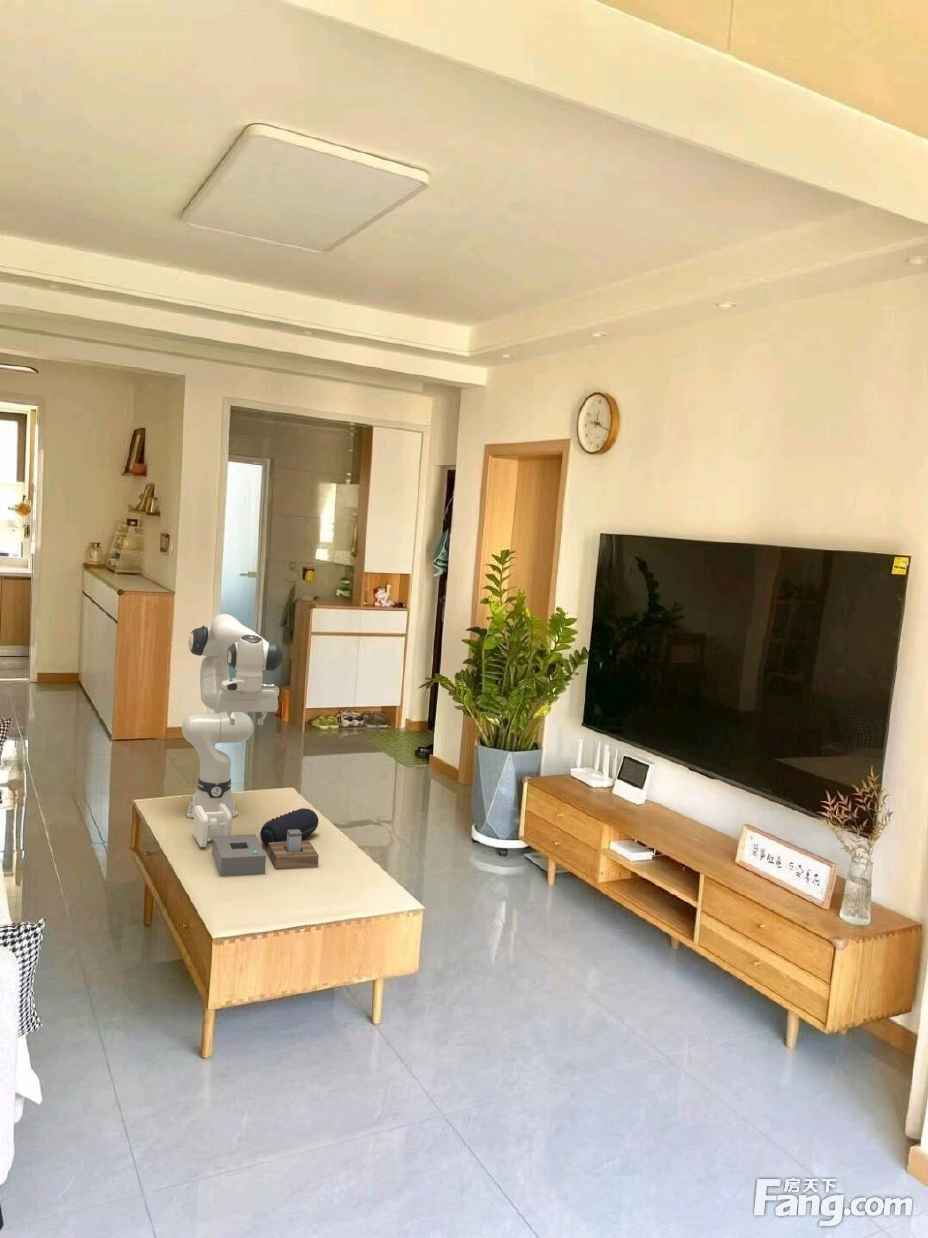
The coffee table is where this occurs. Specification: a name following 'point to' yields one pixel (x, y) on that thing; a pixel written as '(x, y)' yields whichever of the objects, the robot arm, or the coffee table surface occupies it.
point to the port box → (238, 855)
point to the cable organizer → (211, 824)
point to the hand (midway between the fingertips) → (246, 724)
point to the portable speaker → (289, 825)
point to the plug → (293, 841)
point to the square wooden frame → (292, 856)
